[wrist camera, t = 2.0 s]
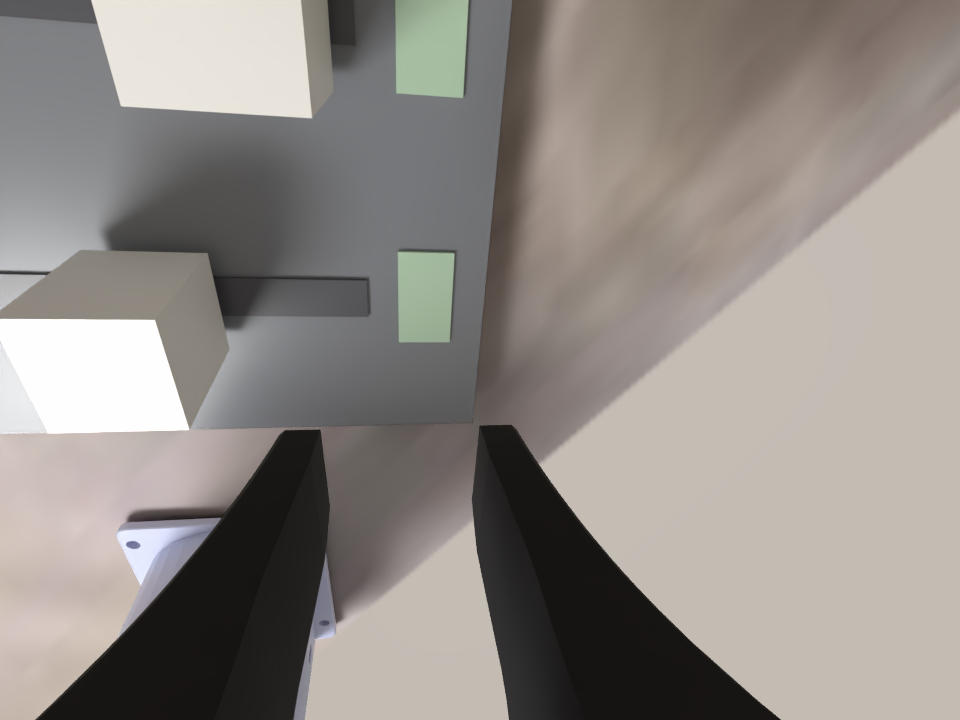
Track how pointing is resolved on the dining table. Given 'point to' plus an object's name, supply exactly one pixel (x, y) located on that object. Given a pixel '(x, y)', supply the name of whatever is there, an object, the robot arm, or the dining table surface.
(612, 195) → the dining table surface
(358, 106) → the board
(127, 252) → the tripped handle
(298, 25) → the cream cube box
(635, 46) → the dining table surface
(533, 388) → the dining table surface
